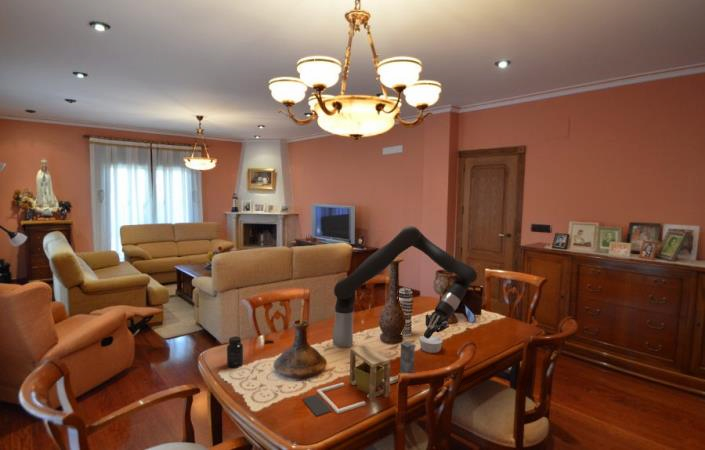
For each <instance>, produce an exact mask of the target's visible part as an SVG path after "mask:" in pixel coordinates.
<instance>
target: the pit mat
mask: <svg viewBox="0 0 705 450" xmlns="http://www.w3.org/2000/svg"><path fill="white" fill-rule="evenodd" d="M301 401H303V402H304V404H305V405H306V406H307V408H308V409H309V410H310V411H311V413H313V415H314V416H315V417H320V416H323V415H326V414H329V413H331V412H333V409H332V408H331V407H329V405H328V404H327V403H326V401H325V400H324V399H323V398H322V397H321V396H320V395H319V394H318V393H317V394H316V393H315V394H312V395H309V396H306V397H302V398H301Z"/></svg>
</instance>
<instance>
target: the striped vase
mask: <svg viewBox="0 0 705 450" xmlns="http://www.w3.org/2000/svg"><path fill="white" fill-rule="evenodd" d="M399 301H400V306H401V308H402V310H403V313H404V315H405V320H406V323H405V328H404V330H403V332H402V335H403V336H402V337H410V336H412V323H413V322H412V314H413V309H414V308H413V306H414V305H413V303H414V298H413V291H412V290H411V288H408V287H400V288H399Z"/></svg>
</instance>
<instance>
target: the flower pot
mask: <svg viewBox="0 0 705 450" xmlns="http://www.w3.org/2000/svg"><path fill="white" fill-rule="evenodd" d="M354 372H355V381H356V383H357V384H356V387H357V388H358V389H359V390H360V391H362V392H365V393H366V394H369V392H370V365H369V364H367V363H366V362H364V363H363V362H362V363H360V364H358V365H355V368H354ZM382 379H384V365H380V366H377V367H376V391H378V389H379V388H380V387H381V386H380V384H381V382H382Z"/></svg>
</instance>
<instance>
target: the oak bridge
mask: <svg viewBox="0 0 705 450" xmlns="http://www.w3.org/2000/svg"><path fill="white" fill-rule="evenodd" d="M349 352H350V355H349V384H350V385H352V381H356V380H355V372H354V368H355V367H356V366H357V365H356V360H357V357H358V358H359V359H360V360H362V363H364V362H366V363H367V364H369V365H370V392H369V393H368V394H369V398H368V400H369V402H371V403H374V402H376V396H375V394H376V391H377V390H376V367H377V366H383V367H384V374H383V379H384V388H383V387H382V390H383V394H382V396H383V397H384V398H389V397H390V392H389V388H390V389H391V384H390V377H391V358H389V357H387V356H386V355H384V354H383V353H381V352H379V351H378V350H376V349H375V348H373V347H372V346H370V345H369V344H364V345H359V346H355V347H351V348H350V349H349ZM352 386H353V385H352Z"/></svg>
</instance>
